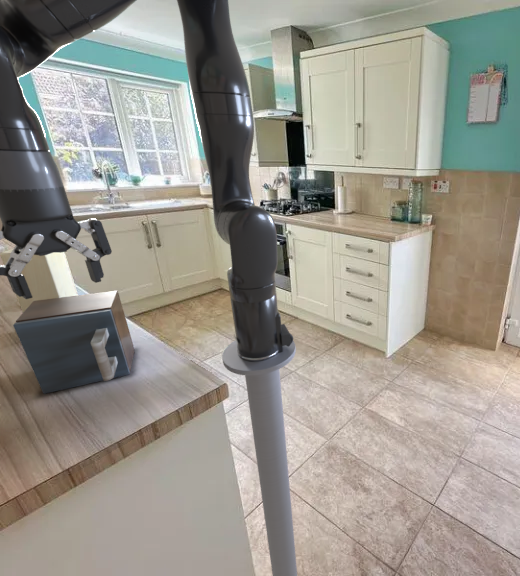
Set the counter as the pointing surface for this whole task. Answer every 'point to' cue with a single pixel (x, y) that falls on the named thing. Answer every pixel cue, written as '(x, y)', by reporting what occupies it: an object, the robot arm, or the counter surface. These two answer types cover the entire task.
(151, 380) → the counter surface
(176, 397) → the counter surface
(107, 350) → the door
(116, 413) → the counter surface
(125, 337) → the cupboard
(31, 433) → the counter surface
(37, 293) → the cream rectangular block
